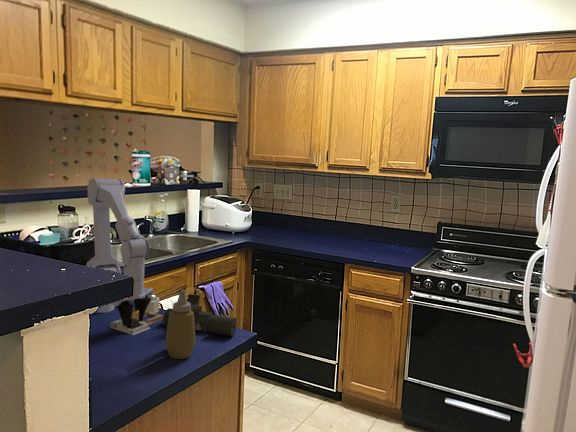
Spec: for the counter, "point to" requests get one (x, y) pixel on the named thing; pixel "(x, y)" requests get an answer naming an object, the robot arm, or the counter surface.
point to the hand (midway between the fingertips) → (132, 323)
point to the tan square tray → (152, 320)
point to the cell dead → (152, 297)
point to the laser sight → (207, 319)
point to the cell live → (134, 319)
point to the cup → (153, 306)
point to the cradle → (119, 326)
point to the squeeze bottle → (180, 329)
